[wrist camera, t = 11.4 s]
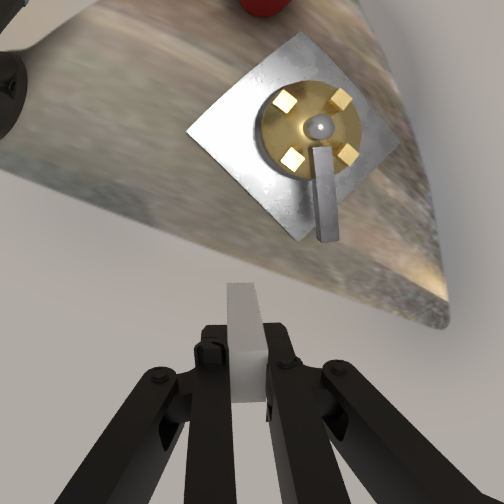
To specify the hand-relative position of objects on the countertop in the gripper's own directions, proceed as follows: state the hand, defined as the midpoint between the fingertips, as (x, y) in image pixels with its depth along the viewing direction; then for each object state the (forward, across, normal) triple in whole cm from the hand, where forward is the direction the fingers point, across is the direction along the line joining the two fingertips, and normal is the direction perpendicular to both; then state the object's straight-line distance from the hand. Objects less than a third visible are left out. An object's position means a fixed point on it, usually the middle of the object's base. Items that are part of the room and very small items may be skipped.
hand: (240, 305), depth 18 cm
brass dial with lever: (+20, +9, +8) cm, 23 cm away
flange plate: (+24, +8, +11) cm, 28 cm away
